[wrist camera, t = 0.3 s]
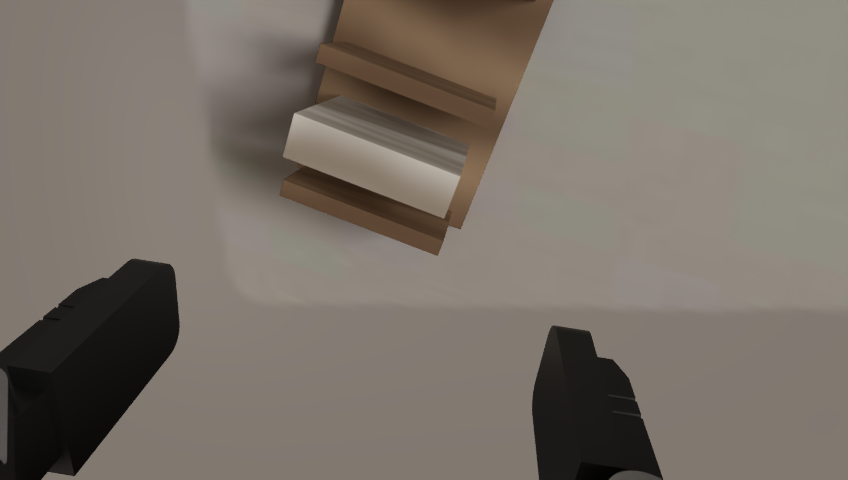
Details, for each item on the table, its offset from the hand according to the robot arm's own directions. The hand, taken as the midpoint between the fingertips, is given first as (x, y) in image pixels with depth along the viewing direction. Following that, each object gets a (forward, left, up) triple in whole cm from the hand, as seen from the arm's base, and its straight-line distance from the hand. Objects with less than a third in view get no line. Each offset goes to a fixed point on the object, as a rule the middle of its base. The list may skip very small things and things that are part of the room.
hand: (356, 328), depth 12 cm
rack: (-2, -3, -28) cm, 28 cm away
